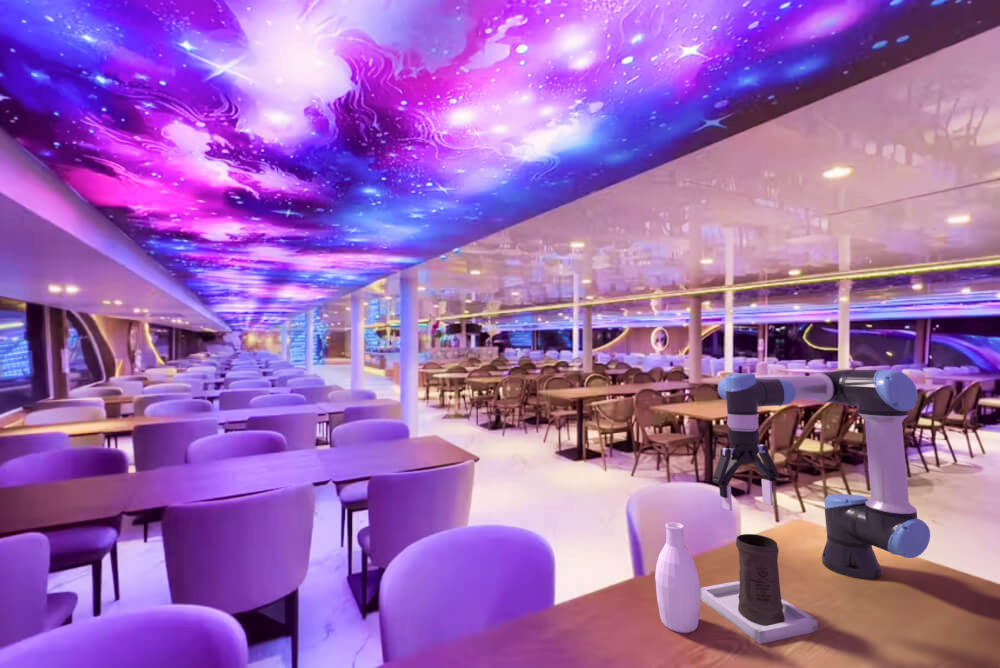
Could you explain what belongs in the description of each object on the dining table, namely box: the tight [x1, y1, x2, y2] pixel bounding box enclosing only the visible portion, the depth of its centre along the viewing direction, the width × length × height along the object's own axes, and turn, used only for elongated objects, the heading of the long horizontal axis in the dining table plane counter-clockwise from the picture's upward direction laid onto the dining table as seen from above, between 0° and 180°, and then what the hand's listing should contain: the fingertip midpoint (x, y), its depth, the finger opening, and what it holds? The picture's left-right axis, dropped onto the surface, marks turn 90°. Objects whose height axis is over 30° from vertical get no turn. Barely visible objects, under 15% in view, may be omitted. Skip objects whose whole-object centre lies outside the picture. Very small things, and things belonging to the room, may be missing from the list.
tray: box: [700, 580, 819, 645], centre depth 122 cm, size 18×22×3 cm
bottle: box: [654, 521, 701, 634], centre depth 119 cm, size 11×11×25 cm
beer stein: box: [735, 533, 784, 626], centre depth 122 cm, size 15×11×20 cm
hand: (747, 506), depth 123 cm, fingers open, 13 cm apart
